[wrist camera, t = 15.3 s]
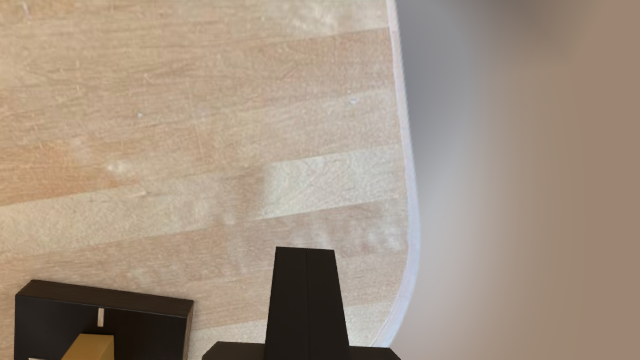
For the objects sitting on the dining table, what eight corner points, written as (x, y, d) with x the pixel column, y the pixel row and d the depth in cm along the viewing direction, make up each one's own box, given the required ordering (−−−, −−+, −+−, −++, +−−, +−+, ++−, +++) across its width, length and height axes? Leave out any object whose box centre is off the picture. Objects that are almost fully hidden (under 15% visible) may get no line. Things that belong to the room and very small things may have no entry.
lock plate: (194, 300, 41) (187, 318, 38) (181, 411, 43) (173, 435, 40) (32, 278, 40) (13, 295, 37) (28, 393, 42) (11, 416, 40)
